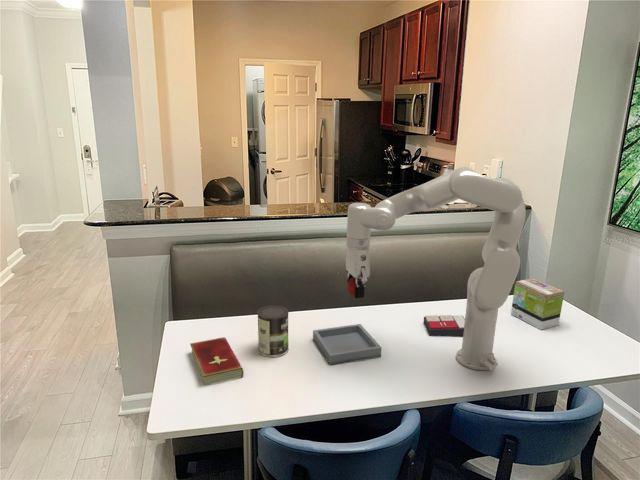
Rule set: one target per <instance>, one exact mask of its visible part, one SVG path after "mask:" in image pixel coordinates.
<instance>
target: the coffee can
mask: <svg viewBox="0 0 640 480" xmlns="http://www.w3.org/2000/svg"><path fill="white" fill-rule="evenodd" d="M256 312H257V313H256V314H257V335H258V336H257V338H258V339H257V340H258V341H257V342H258V353H259V354H260V355H261V356H263V357H267V358H279V357H283V356H285V355H286V354H287V353H288V352H289V314H290V313H289V309H288V308H287V307H284V306H282V305H267V306H263V307H261V308H259V309H258V310H257V311H256Z"/></svg>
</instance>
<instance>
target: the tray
mask: <svg viewBox="0 0 640 480" xmlns="http://www.w3.org/2000/svg"><path fill="white" fill-rule="evenodd" d="M312 340H313V342H314V343H315V345H316V346H317V348H318V349H319V351H320V353H321V354H322V355H323V357H324V358H325V360H326V362H327V363H328V365H329V366H334V365H340V364H345V363H346V364H347V363H354V362H359V361H364V360H371V359H376V358H381V357H382V346H381V345H380V344H379V343H378V342H377V340H375V338H373V336H372V335H371V334H370V333H369V332H368V331H367V329H365V327H364V326H363V325H362V324H361V323H355V324H349V325H343V326H342V325H341V326H336V327H335V326H334V327H328V328H322V329H321V328H320V329H315V330H312Z"/></svg>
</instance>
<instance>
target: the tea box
mask: <svg viewBox="0 0 640 480" xmlns="http://www.w3.org/2000/svg"><path fill="white" fill-rule="evenodd" d="M564 295H565V290H562V289H560V288H558V287H556V286H553V285H550V284H548V283H546V282H543V281H541V280H539V279H537V278H535V277H532V278H528V279H527V278H526V279H522V280H515V281H514V290H513V296H512V304H511V309H510V311H511V312H510V315H512V316H514V317H516V318H518V319H520V320H521V321H523V322H526V323H527V324H529V325H531V326H532V327H534V328H537V329H538V330H540V331H543V330H546V329H550V328H553V327H557V326H559V323H560V318H561V314H562V313H561V312H562V307H563V302H564Z"/></svg>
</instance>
